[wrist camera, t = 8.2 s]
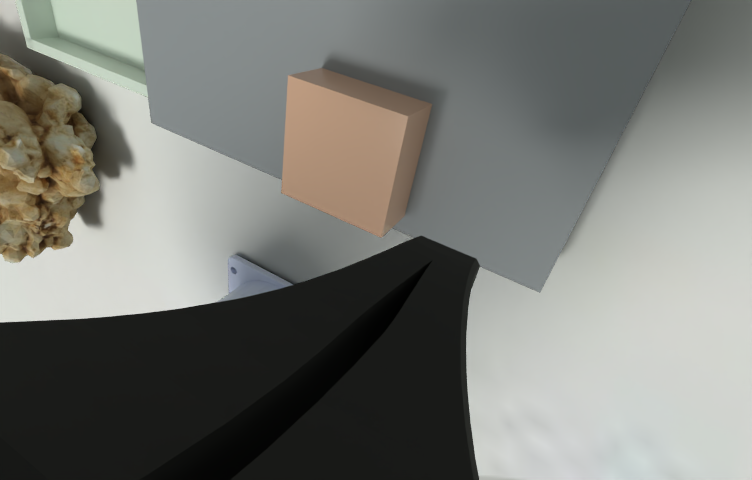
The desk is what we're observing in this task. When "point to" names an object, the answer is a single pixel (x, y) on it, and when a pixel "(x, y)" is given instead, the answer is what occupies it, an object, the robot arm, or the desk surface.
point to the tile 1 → (351, 148)
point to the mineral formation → (40, 161)
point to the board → (429, 98)
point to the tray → (88, 37)
